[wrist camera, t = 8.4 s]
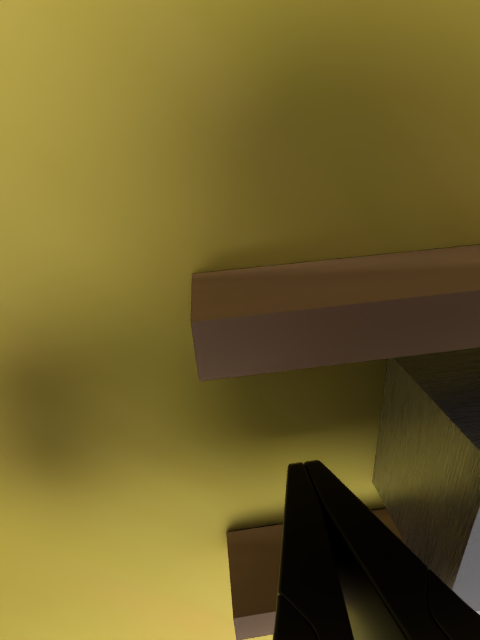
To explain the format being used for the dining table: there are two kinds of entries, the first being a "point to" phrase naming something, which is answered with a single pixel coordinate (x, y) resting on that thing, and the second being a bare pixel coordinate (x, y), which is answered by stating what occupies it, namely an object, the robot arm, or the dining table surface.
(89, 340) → the dining table surface
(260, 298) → the dock
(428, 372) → the socket
